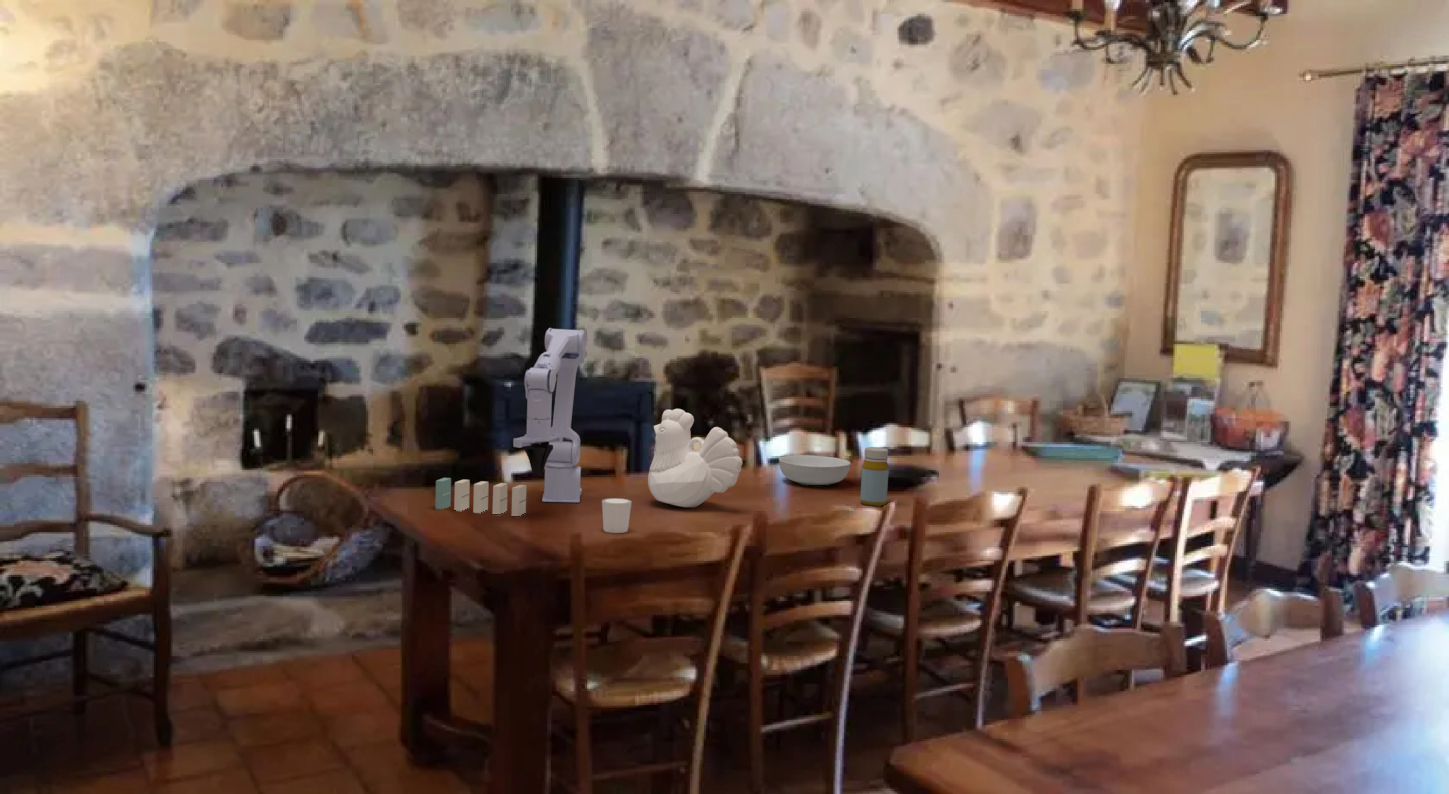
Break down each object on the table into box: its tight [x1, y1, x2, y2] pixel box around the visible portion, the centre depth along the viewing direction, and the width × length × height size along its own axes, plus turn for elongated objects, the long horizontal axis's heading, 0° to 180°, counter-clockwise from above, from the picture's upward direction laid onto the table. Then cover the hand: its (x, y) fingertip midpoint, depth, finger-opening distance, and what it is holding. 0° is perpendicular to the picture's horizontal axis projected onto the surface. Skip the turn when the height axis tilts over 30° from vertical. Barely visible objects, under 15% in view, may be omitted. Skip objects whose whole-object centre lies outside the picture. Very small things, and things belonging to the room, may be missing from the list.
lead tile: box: [511, 484, 527, 517], centre depth 288 cm, size 2×4×7 cm, turn 167°
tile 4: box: [491, 482, 509, 515], centre depth 289 cm, size 2×4×7 cm, turn 166°
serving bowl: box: [778, 454, 852, 486], centre depth 347 cm, size 21×21×7 cm
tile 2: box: [453, 479, 471, 512], centre depth 291 cm, size 2×4×7 cm, turn 167°
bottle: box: [860, 446, 889, 507], centre depth 320 cm, size 7×7×15 cm
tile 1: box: [434, 477, 452, 510], centre depth 292 cm, size 2×4×7 cm, turn 167°
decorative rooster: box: [647, 408, 743, 508], centre depth 305 cm, size 25×16×25 cm, turn 54°
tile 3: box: [472, 480, 490, 514], centre depth 290 cm, size 2×4×7 cm, turn 167°
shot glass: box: [601, 497, 632, 534], centre depth 277 cm, size 7×7×7 cm
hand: (537, 474), depth 286 cm, fingers closed
